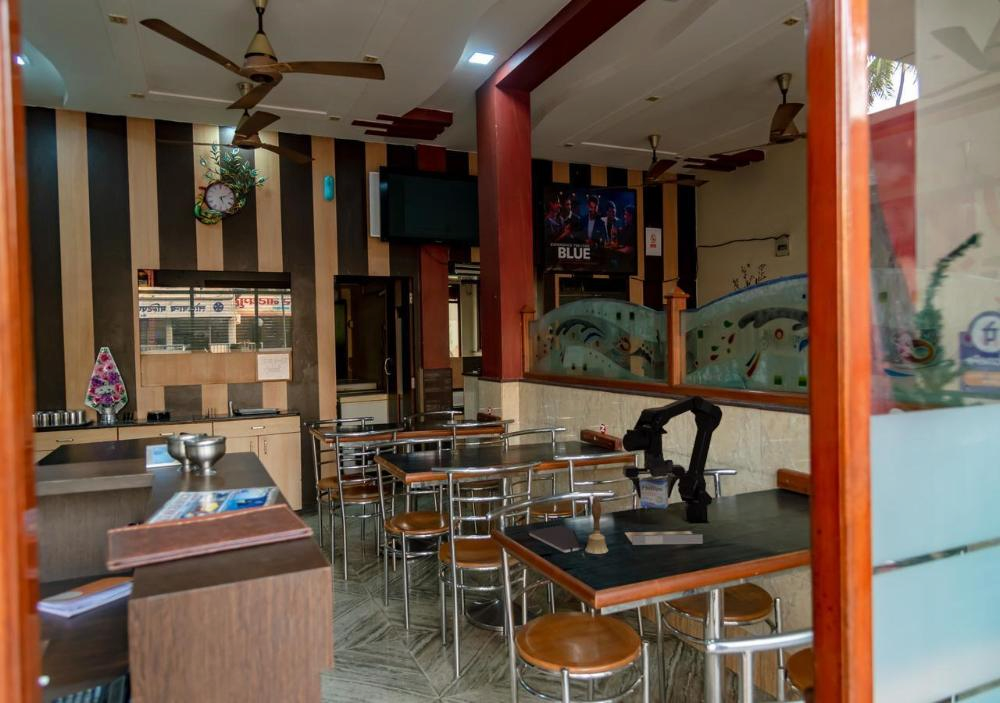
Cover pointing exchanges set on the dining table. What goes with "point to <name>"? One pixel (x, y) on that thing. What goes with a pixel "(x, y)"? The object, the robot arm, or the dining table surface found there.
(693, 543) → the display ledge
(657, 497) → the medicine box
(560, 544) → the notebook
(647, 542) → the rail
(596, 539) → the hand bell
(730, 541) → the dining table surface
